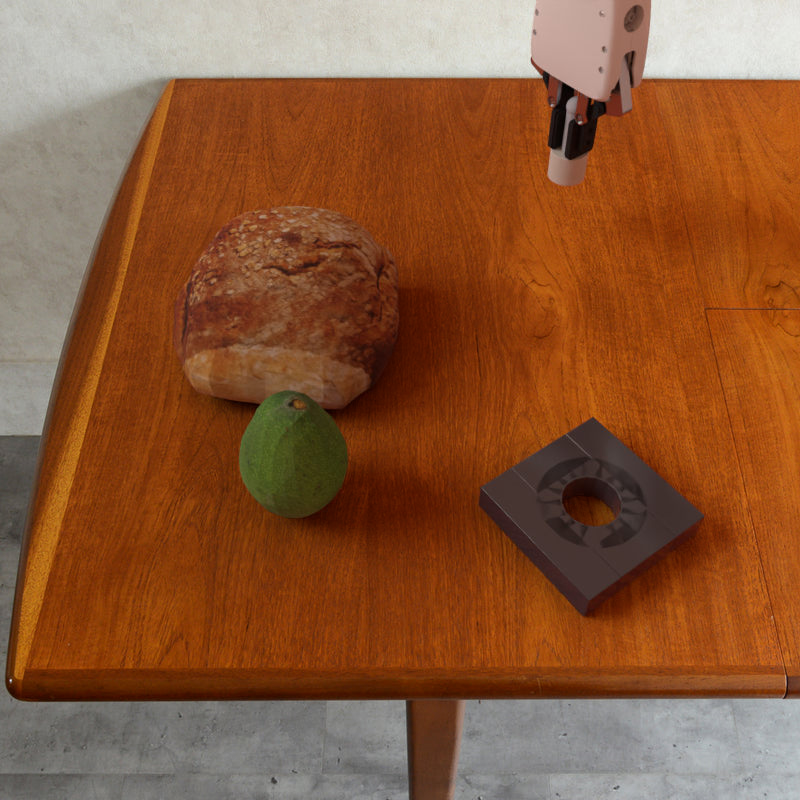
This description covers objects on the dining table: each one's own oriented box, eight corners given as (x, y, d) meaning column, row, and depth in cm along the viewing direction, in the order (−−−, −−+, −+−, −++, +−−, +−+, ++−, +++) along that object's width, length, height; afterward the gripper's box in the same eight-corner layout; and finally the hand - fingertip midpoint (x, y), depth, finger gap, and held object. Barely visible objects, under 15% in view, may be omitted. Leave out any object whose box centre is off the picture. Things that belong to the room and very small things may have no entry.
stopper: (566, 160, 89) (578, 83, 83) (592, 177, 87) (605, 99, 81) (539, 173, 88) (549, 95, 82) (565, 191, 86) (576, 112, 80)
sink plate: (588, 435, 75) (593, 416, 73) (697, 533, 69) (705, 515, 67) (477, 505, 71) (480, 486, 69) (583, 617, 64) (589, 600, 62)
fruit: (293, 441, 75) (279, 340, 66) (369, 486, 72) (365, 387, 63) (228, 506, 71) (202, 408, 61) (305, 557, 68) (291, 462, 58)
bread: (404, 283, 88) (404, 199, 80) (391, 427, 76) (390, 344, 68) (198, 274, 89) (179, 190, 81) (153, 415, 77) (126, 332, 69)
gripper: (706, -31, 69) (658, 173, 83) (566, -93, 77) (543, 101, 91) (637, -3, 66) (599, 203, 80) (499, -71, 74) (487, 126, 88)
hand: (570, 147), depth 85 cm, fingers closed on stopper, 1 cm apart
